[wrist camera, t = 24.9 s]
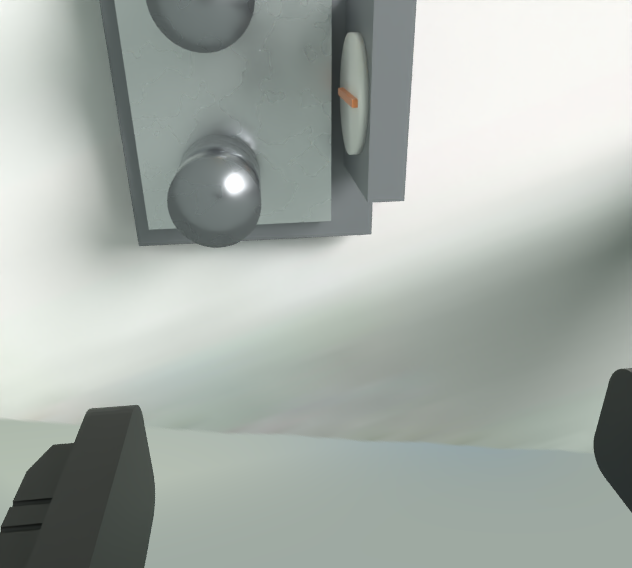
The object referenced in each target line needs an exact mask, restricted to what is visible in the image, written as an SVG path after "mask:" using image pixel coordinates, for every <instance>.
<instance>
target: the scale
mask: <svg viewBox="0 0 632 568" xmlns="http://www.w3.org/2000/svg"><path fill="white" fill-rule="evenodd" d="M416 1H417V0H255V6H254V12H253V16H252V18H251V21H250V24H249V25H248V27H247V29H246V31H245V32H244V33H243V35H242V36H241V37H240V38H239V39H238V40H237V41H236V42H235V43H233V44H232V45H231V46H229V47H227V48H225V49H223V50H220V51H216V52H211V53H198V52H192V51H189V50H186V49H184V48H182V47H180V46H178V45H176V44H175V43H173V42H172V41H170V40H169V39H168V38H167V37H166V36H165V35H164V34H163V33H162V32H161V31H160V30H159V28H158V27H157V26H156V24H155V22H154V21H153V19H152V17H151V15H150V12H149V10H148V7H147V4H146V0H100V6H101V12H102V18H103V25H104V31H105V37H106V43H107V49H108V56H109V62H110V68H111V74H112V80H113V87H114V93H115V99H116V105H117V111H118V118H119V124H120V130H121V136H122V143H123V149H124V155H125V161H126V167H127V174H128V180H129V186H130V192H131V198H132V205H133V211H134V217H135V223H136V230H137V236H138V242H139V246H149V245H169V244H189V243H195V242H193V241H191V240H189V239H188V238H186V237H185V236H184V235H183V234H182V233H181V232H180V231H179V230H178V229H177V228H176V226H175V225H174V223H173V222H172V220H171V217H170V215H169V211H168V207H167V195H168V190H169V187H170V184H171V182H172V180H173V178H174V176H175V173H176V171H177V169H178V167H179V165H180V163H181V161H182V158H183V156H184V154H185V153H186V151H187V150H188V148H189V147H190V146H191V145H192V144H193V143H195V142H196V141H197V140H199V139H201V138H203V137H206V136H210V135H217V134H218V135H228V136H231V137H234V138H236V139H238V140H240V141H242V142H243V143H244V144H246V145H247V146H248V147H249V148H250V149H251V151H252V152H253V153H254V155H255V157H256V158H257V161H258V164H259V167H260V179H261V214H260V217H259V220H258V222H257V225H256V226H255V228H254V229H253V231H252V232H251V233H250V234H249V235H248V236H247V237H246V238H244V239H243V240H241V241H248V240H268V239H287V238H307V237H327V236H347V235H366V234H371V228H372V202H390V201H404V194H405V178H406V162H407V146H408V129H409V113H410V97H411V81H412V65H413V49H414V33H415V17H416Z"/></svg>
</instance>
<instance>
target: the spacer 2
mask: <svg viewBox="0 0 632 568" xmlns="http://www.w3.org/2000/svg"><path fill="white" fill-rule="evenodd" d="M167 207H168V211H169V215H170V217H171V220H172V222H173V223H174V225H175V226H176V228H177V229H178V230H179V231H180V232H181V233H182V234H183V235H184V236H185V237H186V238H188V239H189V240H191V241H193V242H195V243H197V244H200V245H203V246H207V247H226V246H230V245H233V244H236V243H238V242H240V241H241V240H243V239H244V238H246V237H247V236H248V235H249V234H250V233H251V232H252V231H253V229H254V228H255V226H256V225H257V222H258V220H259V217H260V214H261V179H260V167H259V164H258V161H257V158H256V157H255V155H254V153H253V152H252V151H251V149H250V148H249V147H248V146H247V145H246V144H244V143H243V142H242V141H240V140H238V139H236V138H234V137H231V136H228V135H218V134H217V135H210V136H206V137H203V138H201V139H199V140H197V141H196V142H195V143H193V144H192V145H191V146H190V147H189V148H188V150H187V151H186V153H185V154H184V156H183V158H182V161H181V163H180V165H179V167H178V169H177V171H176V173H175V176H174V178H173V180H172V182H171V184H170V187H169V190H168V195H167Z"/></svg>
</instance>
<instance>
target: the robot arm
mask: <svg viewBox="0 0 632 568" xmlns="http://www.w3.org/2000/svg"><path fill="white" fill-rule="evenodd" d="M594 454H595V458H596V461H597V464H598V467H599V469H600V471H601V472H602V474H603V475H604V477H605V478H606V480H607V481H608V482H609V483H610V485H611V486H612V487H613V489H614V490H615V491H616V493H617V494H618V495H619V497H620V498H621V499H622V500H623V502H624V503H625V504H626V506H627V507H628V508H629V509H630V511H631V512H632V368H627V369H619V370H617V371H615V372H614V373H613V374H612V376H611V378H610V381H609V384H608V388H607V392H606V395H605V399H604V403H603V407H602V410H601V414H600V418H599V421H598V425H597V429H596V432H595V436H594ZM154 504H155V483H154V475H153V469H152V464H151V458H150V453H149V447H148V442H147V437H146V432H145V426H144V420H143V415H142V411H141V409H140V407H139V406H138V405H130V406H117V407H104V408H92V409H89V410H88V411H87V412H86V414H85V417H84V419H83V422H82V424H81V427H80V429H79V432H78V434H77V437H76V440H75V442H74V443H70V444H57V445H53V446H52V447H50V448H49V450H47V452H45V453H44V454H43V456H42V457H41V458H40V459H39V460H38V461H37V462H36V463H35V464H34V465H33V466H32V467H31V468H30V469H29V470H28V471H27V472H26V474H25V477H24V479H23V481H22V483H21V485H20V487H19V489H18V491H17V494H16V496H15V498H14V500H13V507H10V508H9V510H8V513H7V515H6V517H5V519H4V521H3V523H2V525H1V532H0V568H144V566H145V560H146V555H147V549H148V544H149V537H150V533H151V527H152V522H153V516H154V506H155V505H154Z"/></svg>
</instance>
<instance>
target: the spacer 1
mask: <svg viewBox="0 0 632 568" xmlns="http://www.w3.org/2000/svg"><path fill="white" fill-rule="evenodd" d="M146 4H147V7H148V10H149V12H150V15H151V17H152V19H153V21H154V22H155V24H156V26H157V27H158V28H159V30H160V31H161V32H162V33H163V34H164V35H165V36H166V37H167V38H168V39H169V40H170V41H172V42H173V43H175V44H176V45H178V46H180V47H182V48H184V49H186V50H189V51H192V52H198V53H211V52H216V51H220V50H223V49H225V48H227V47H229V46H231V45H232V44H233V43H235V42H236V41H237V40H238V39H239V38H240V37H241V36H242V35H243V33H244V32H245V31H246V29H247V27H248V25H249V24H250V21H251V18H252V16H253V12H254V6H255V0H146Z"/></svg>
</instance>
